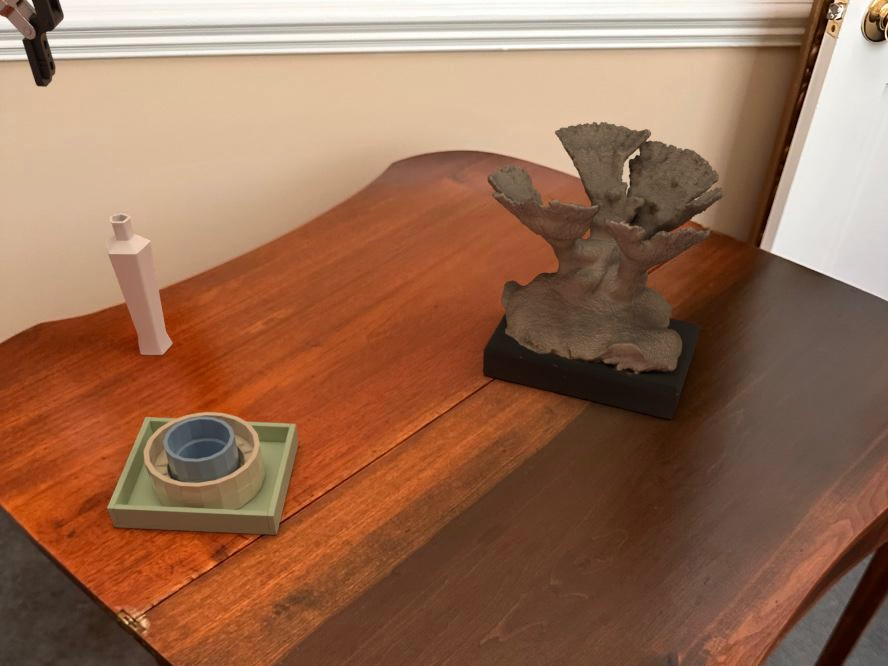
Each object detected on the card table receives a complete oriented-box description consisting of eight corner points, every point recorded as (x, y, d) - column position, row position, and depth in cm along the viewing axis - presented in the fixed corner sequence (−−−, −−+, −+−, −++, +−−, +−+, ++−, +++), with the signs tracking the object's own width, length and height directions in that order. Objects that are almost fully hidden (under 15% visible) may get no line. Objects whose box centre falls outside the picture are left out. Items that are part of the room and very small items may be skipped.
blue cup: (167, 499, 82) (155, 459, 79) (184, 455, 87) (172, 415, 83) (235, 502, 82) (225, 462, 79) (248, 458, 87) (239, 418, 83)
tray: (114, 527, 81) (106, 508, 79) (151, 436, 89) (145, 416, 87) (276, 535, 81) (273, 515, 79) (298, 442, 89) (295, 423, 87)
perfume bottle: (124, 349, 99) (85, 220, 87) (153, 331, 101) (119, 204, 90) (152, 363, 97) (116, 234, 86) (181, 345, 100) (150, 217, 88)
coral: (452, 368, 98) (458, 174, 82) (511, 280, 110) (527, 97, 94) (670, 424, 92) (723, 229, 76) (707, 326, 105) (760, 139, 88)
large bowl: (142, 518, 82) (130, 483, 78) (170, 445, 88) (160, 409, 85) (254, 524, 82) (247, 488, 78) (274, 450, 88) (268, 414, 85)
